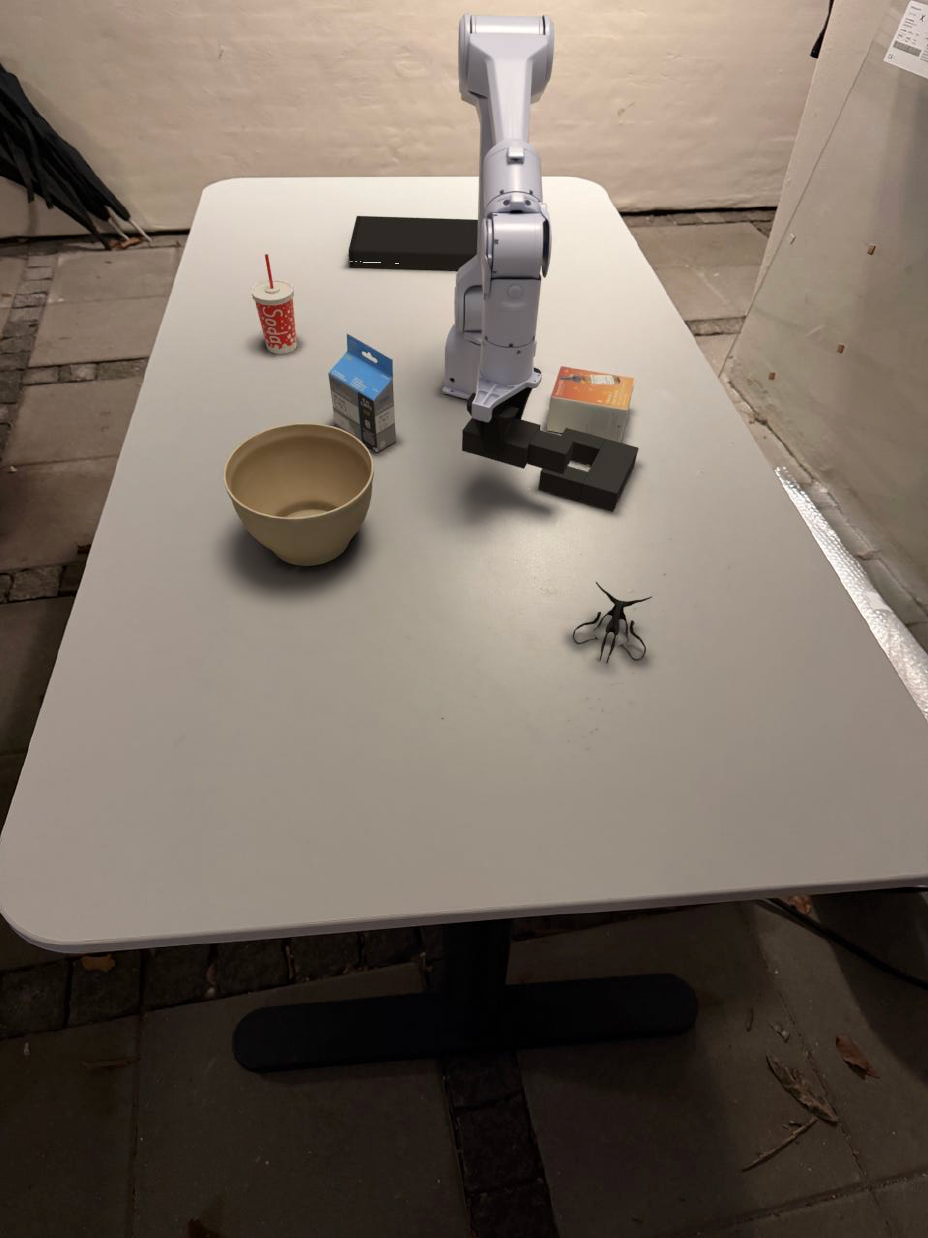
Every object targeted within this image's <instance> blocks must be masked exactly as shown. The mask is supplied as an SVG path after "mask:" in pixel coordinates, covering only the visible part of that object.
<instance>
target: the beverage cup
mask: <svg viewBox="0 0 928 1238" xmlns="http://www.w3.org/2000/svg"><path fill="white" fill-rule="evenodd" d="M264 258H265V259H264V260H265V264H266V270H267V275H268V279H266V280H263V281H259V282H257V283H256V284H254V285H253V286H252V287H251V289H250V292H251V296H252V300H254V302H255V307H256V310H257V314H258V318H259V322H260V326H261V331H262V334H263V337H264V342H265V346H266V349H267V351H268V352H270V353H272V354H276V355H285V354H286V355H287V354H288V353H292V352H294V350H296V349H297V347H298V342H297V332H296V331H297V330H296V319H295V309H294V297H295V292H294V291H295V290H294V285H293V284H292V283H290V282H289V281H286V280H284V279H273V275H272V268H271V263H270V258H269V254H268V253H266V254H264Z"/></svg>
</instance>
